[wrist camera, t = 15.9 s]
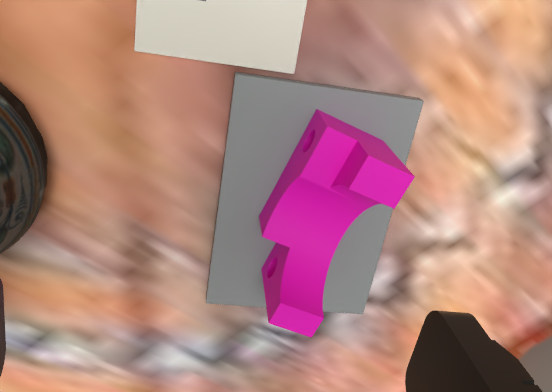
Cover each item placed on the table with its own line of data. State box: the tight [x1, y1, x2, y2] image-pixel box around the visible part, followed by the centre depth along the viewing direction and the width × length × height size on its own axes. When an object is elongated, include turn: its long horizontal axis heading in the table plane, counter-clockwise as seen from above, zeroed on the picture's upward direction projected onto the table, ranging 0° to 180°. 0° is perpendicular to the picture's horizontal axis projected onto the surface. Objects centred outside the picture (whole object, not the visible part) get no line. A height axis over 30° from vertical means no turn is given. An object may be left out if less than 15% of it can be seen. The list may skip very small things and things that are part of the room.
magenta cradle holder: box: [259, 109, 414, 337], centre depth 40 cm, size 15×6×8 cm, turn 153°
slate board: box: [206, 72, 424, 314], centre depth 44 cm, size 15×21×1 cm
